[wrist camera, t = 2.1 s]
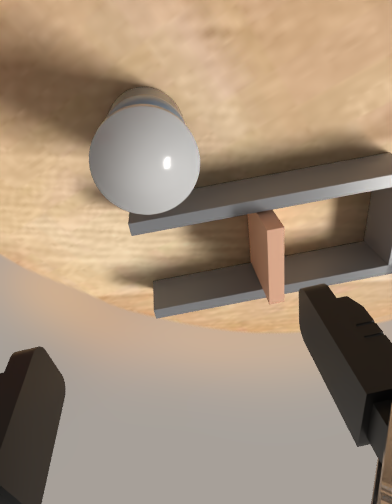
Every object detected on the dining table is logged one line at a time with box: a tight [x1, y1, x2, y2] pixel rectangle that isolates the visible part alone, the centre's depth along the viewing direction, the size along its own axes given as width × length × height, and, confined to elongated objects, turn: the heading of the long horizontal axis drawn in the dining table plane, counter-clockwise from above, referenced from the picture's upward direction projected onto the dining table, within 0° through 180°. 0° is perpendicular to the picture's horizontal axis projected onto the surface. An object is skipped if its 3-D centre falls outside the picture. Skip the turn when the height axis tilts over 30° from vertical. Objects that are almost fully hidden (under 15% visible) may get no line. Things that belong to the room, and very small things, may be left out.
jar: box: [89, 87, 200, 215], centre depth 21 cm, size 6×6×8 cm
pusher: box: [247, 210, 284, 304], centre depth 28 cm, size 7×1×6 cm, turn 8°
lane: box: [128, 153, 392, 318], centre depth 29 cm, size 10×22×4 cm, turn 98°
